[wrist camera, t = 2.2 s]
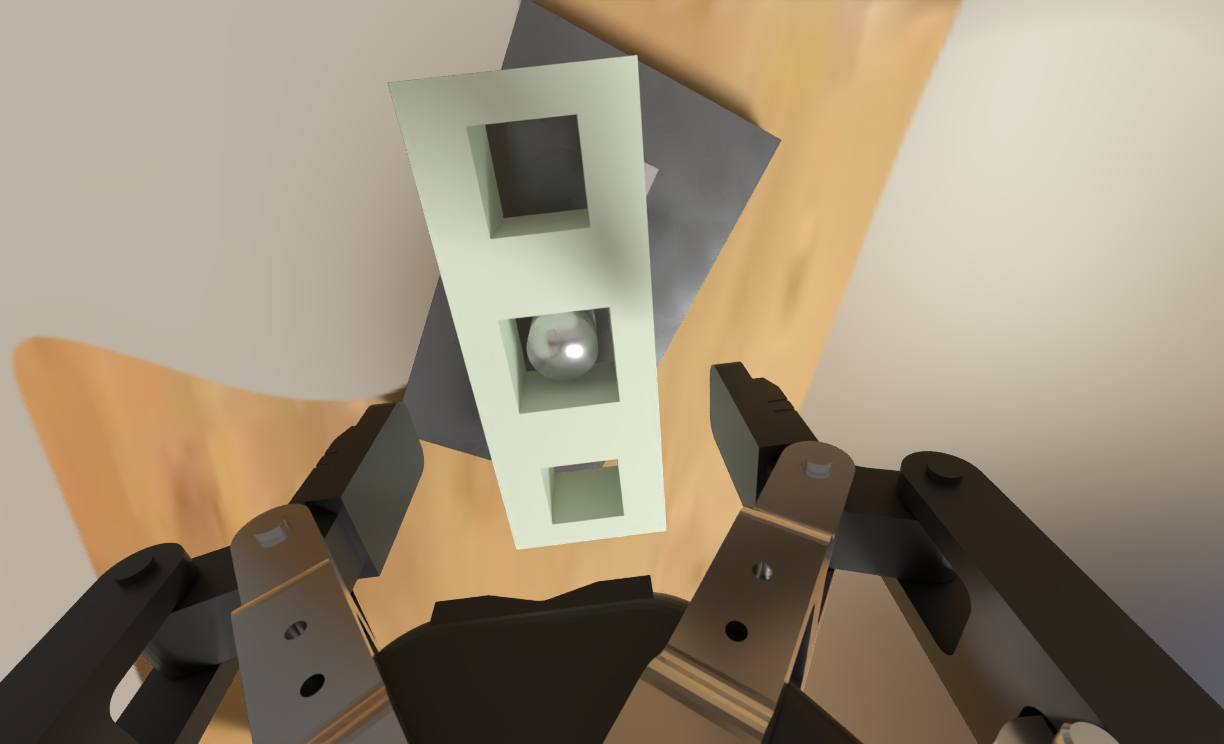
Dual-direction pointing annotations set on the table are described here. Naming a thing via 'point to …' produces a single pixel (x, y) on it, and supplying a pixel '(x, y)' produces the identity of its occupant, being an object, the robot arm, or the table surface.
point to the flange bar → (548, 292)
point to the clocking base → (554, 181)
